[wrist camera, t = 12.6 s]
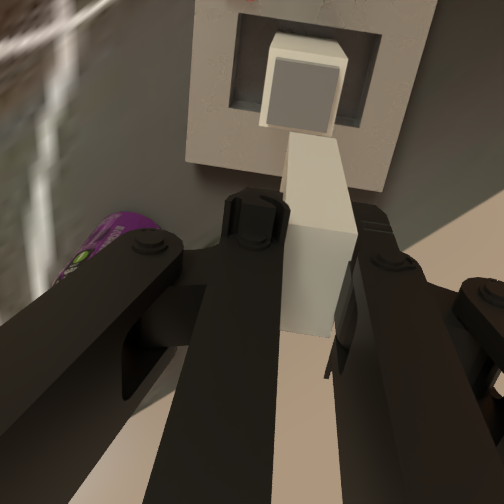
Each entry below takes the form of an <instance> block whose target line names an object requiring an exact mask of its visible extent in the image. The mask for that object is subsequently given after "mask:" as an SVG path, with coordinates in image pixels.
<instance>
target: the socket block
mask: <svg viewBox="0 0 504 504" xmlns="http://www.w3.org/2000/svg"><path fill="white" fill-rule="evenodd" d="M437 1H438V0H195V16H194V31H193V47H192V63H191V79H190V94H189V110H188V126H187V142H186V157H185V162H191V163H198V164H204V165H211V166H217V167H223V168H230V169H236V170H243V171H249V172H255V173H262V174H268V175H275V176H281V177H282V175H283V169H284V163H285V157H286V151H287V145H288V140H289V134H290V132H295V133H302V134H308V135H315V136H321V137H328V138H335V139H336V140H337V144H338V149H339V153H340V157H341V162H342V166H343V171H344V175H345V179H346V184H347V187H352V188H358V189H365V190H371V191H377V192H382V190H383V187H384V183H385V180H386V177H387V173H388V170H389V166H390V163H391V159H392V156H393V153H394V149H395V146H396V142H397V139H398V135H399V132H400V128H401V125H402V122H403V118H404V115H405V111H406V108H407V104H408V101H409V97H410V94H411V91H412V87H413V84H414V80H415V77H416V73H417V70H418V67H419V63H420V60H421V56H422V53H423V49H424V46H425V42H426V39H427V36H428V32H429V29H430V25H431V22H432V18H433V15H434V11H435V8H436V5H437ZM276 31H281V32H288V33H294V34H301V35H307V36H314V37H320V38H327V39H333V40H337V42H338V44H339V45H340V47H341V48H342V50H343V51H344V53H345V55H346V56H347V58H348V63H347V68H346V72H345V77H344V81H343V86H342V90H341V95H340V100H339V104H338V109H337V113H336V118H335V122H334V127H333V132H332V136H331V137H329V136H322V135H316V134H309V133H303V132H296V131H290V130H283V129H277V128H270V127H264V126H259V120H260V113H261V106H262V99H263V91H264V84H265V77H266V70H267V63H268V56H269V48H270V45H271V43H272V41H273V38H274V36H275V34H276Z"/></svg>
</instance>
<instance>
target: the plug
mask: <svg viewBox="0 0 504 504" xmlns="http://www.w3.org/2000/svg"><path fill="white" fill-rule="evenodd" d="M347 63H348V58H347V56H346V55H345V53H344V51H343V50H342V48H341V47H340V45H339V44H338V42H337V40H333V39H327V38H320V37H314V36H307V35H301V34H294V33H288V32H281V31H276V34H275V36H274V38H273V41H272V43H271V45H270V48H269V56H268V63H267V70H266V77H265V84H264V91H263V99H262V106H261V113H260V120H259V126H264V127H270V128H277V129H283V130H290V131H296V132H303V133H309V134H316V135H322V136H329V137H331V136H332V132H333V127H334V122H335V118H336V113H337V109H338V104H339V100H340V95H341V90H342V86H343V81H344V77H345V72H346V68H347Z"/></svg>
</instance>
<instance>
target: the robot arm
mask: <svg viewBox="0 0 504 504" xmlns="http://www.w3.org/2000/svg"><path fill="white" fill-rule="evenodd" d="M392 233H393V231H392V229H391V226H390V223H389V220H388V218H387V215H386V214H385V213H384V212H383V211H382V210H381V209H379V208H378V207H377V206H376V205H370V204H364V203H357V202H351V201H350V197H349V192H348V188H347V184H346V179H345V175H344V171H343V166H342V162H341V157H340V153H339V149H338V144H337V140H336V139H335V138H328V137H321V136H315V135H308V134H302V133H295V132H290V134H289V140H288V145H287V151H286V157H285V163H284V169H283V175H282V181H281V186H280V192H276V191H270V190H263V189H257V188H250V187H247V188H245V189H244V190H242V191H240V192H239V193H235V194H233V195H230V196H229V197H228V198H227V199H226V200H225V206H224V215H223V224H222V233H221V239H220V242H219V244H217V245H215V246H213V247H210V248H205V249H198V250H183V249H184V247H183V243H182V240H181V239H180V238H178V237H177V236H176V235H175V234H172V233H170V232H168V231H165V230H160V229H156V228H140V229H136V230H131V231H128V232H126V233H124V234H122V235H120V236H118V237H117V238H116V239H114V240H113V241H112V242H111V243H109V244H108V245H107V246H105V247H104V248H103V249H101V250H100V251H99V252H97V253H96V254H95V255H94V256H92V257H91V258H90V259H88V260H87V261H86V262H84V263H83V264H82V265H80V266H79V267H78V268H76V269H75V270H74V271H73V272H71V273H70V274H69V275H67V276H66V277H65V278H63V279H62V280H61V281H59V282H58V283H57V284H55V285H54V286H53V287H52V288H50V289H49V290H48V291H46V292H45V293H44V294H42V295H41V296H40V297H38V298H37V299H36V300H35V301H33V302H32V303H31V304H29V305H28V306H27V307H25V308H24V309H23V310H21V311H20V312H19V313H17V314H16V315H15V316H14V317H12V318H11V319H10V320H8V321H7V322H6V323H4V324H3V325H2V326H0V504H68V502H69V501H70V500H71V498H72V497H73V496H74V494H75V493H76V492H77V490H78V489H79V487H80V486H81V484H82V483H83V482H84V480H85V479H86V478H87V476H88V475H89V473H90V472H91V470H92V469H93V468H94V467H95V465H96V464H97V462H98V461H99V460H100V458H101V457H102V455H103V454H104V452H105V451H106V450H107V448H108V447H109V445H110V444H111V443H112V441H113V440H114V439H115V437H116V436H117V434H118V433H119V432H120V430H121V429H122V427H123V426H124V425H125V423H126V422H127V420H128V419H129V418H130V416H131V415H132V414H133V412H134V411H135V409H136V408H137V407H138V405H139V404H140V403H141V401H142V400H143V398H144V397H145V396H146V394H147V393H148V391H149V390H150V389H151V387H152V386H153V384H154V383H155V382H156V380H157V379H158V378H159V376H160V375H161V373H162V372H163V371H164V369H165V368H166V366H167V365H168V364H169V362H170V361H171V359H172V358H173V357H174V355H175V352H176V350H177V346H185V345H189V347H188V350H187V354H186V357H185V361H184V364H183V367H182V371H181V374H180V377H179V381H178V384H177V388H176V391H175V394H174V398H173V401H172V405H171V408H170V411H169V415H168V418H167V421H166V425H165V428H164V432H163V435H162V438H161V442H160V445H159V448H158V452H157V455H156V459H155V462H154V465H153V469H152V472H151V475H150V479H149V482H148V486H147V489H146V492H145V496H144V499H143V502H142V504H271V494H272V474H273V455H274V434H275V415H276V396H277V376H278V357H279V337H280V330H281V331H287V332H294V333H300V334H306V335H313V336H319V337H325V338H330V334H331V331H332V327H333V324H334V320H335V329H336V335H335V339H334V342H333V345H332V349H331V353H330V356H329V360H328V363H327V367H326V370H325V375H324V378H325V379H329V376H330V372H331V371H332V374H333V386H334V399H335V412H336V424H337V437H338V449H339V462H340V474H341V487H342V499H343V504H504V397H502V396H501V395H500V394H499V393H498V392H497V391H496V389H495V388H494V387H493V386H494V384H495V382H496V380H497V378H498V377H499V375H500V373H501V371H502V372H503V373H504V282H502V281H499V280H498V281H497V280H496V279H492V278H481V277H476V278H468V279H467V280H465V281H464V282H462V285H461V287H460V290H459V292H455V291H451V290H449V289H446V288H442V287H439V286H436V285H434V284H431V283H429V282H427V280H426V278H425V275H424V273H423V270H422V268H421V266H420V265H419V264H418V262H417V261H416V260H415V259H413V258H412V257H410V256H409V255H408V254H405V253H403V252H401V251H400V250H399V248H398V245H397V242H396V239H395V237H394V234H392Z"/></svg>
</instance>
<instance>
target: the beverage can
mask: <svg viewBox="0 0 504 504" xmlns="http://www.w3.org/2000/svg"><path fill="white" fill-rule="evenodd" d="M140 228H156V229H160V227H159V226H158V225H157V224H156V223H155V222H153V221H152V220H151V219H149V218H147V217H145V216H143V215H141V214H138V213H134V212H118V213H114V214H111V215H109V216H108V217H106V218H105V219H104V220H103V221H102V222H101V223H100V224H99V225H98V226H97V228H96V229H95V230H94V231H93V233H92V234H91V235H90V236H89V238H88V239H87V240H86V241H85V243H84V244H83V245H82V246H81V247H80V249H79V250H78V251H77V252H76V254H75V255H74V256H73V257H72V259H71V260H70V261H69V262H68V263H67V265H66V266H65V267H64V268H63V270H62V271H61V272H60V273H59V275H58V276H57V277H56V279H55V280H54V282H53V285H52V287H53V286H54V285H55V284H57V283H58V282H59V281H61V280H62V279H63V278H65V277H66V276H67V275H69V274H70V273H71V272H73V271H74V270H75V269H76V268H78V267H79V266H80V265H82V264H83V263H84V262H86V261H87V260H88V259H90V258H91V257H92V256H94V255H95V254H96V253H97V252H99V251H100V250H101V249H103V248H104V247H105V246H107V245H108V244H109V243H111V242H112V241H113V240H114V239H116V238H117V237H118V236H120V235H122V234H124V233H126V232H128V231H131V230H136V229H140ZM160 230H161V229H160Z"/></svg>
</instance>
